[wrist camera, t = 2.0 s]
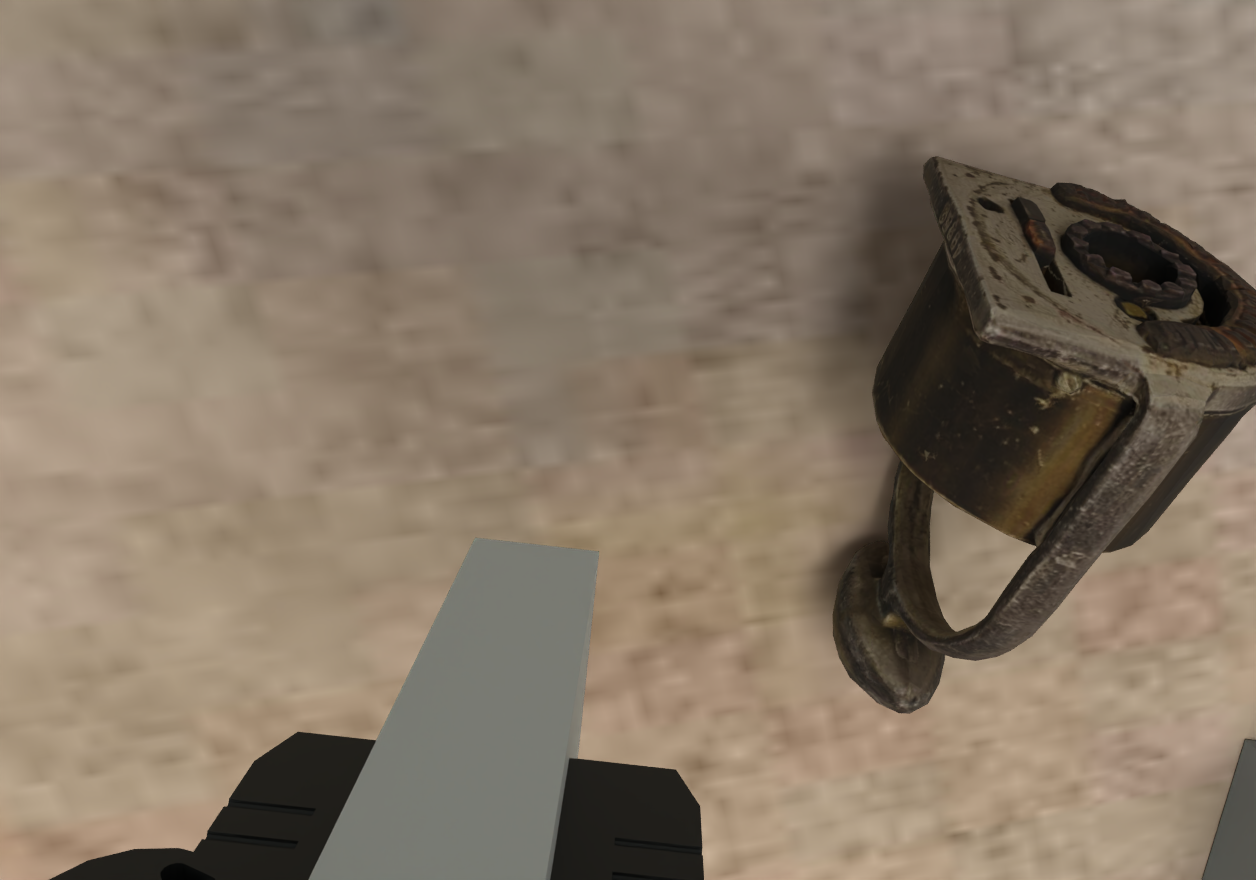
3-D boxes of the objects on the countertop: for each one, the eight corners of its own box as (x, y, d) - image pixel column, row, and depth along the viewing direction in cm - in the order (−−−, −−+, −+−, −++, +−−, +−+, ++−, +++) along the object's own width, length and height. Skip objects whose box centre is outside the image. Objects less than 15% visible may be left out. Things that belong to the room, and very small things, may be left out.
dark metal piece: (1148, 156, 25) (1445, 165, 15) (1080, 639, 29) (1287, 892, 19) (846, 153, 25) (953, 160, 16) (816, 632, 29) (888, 878, 19)
